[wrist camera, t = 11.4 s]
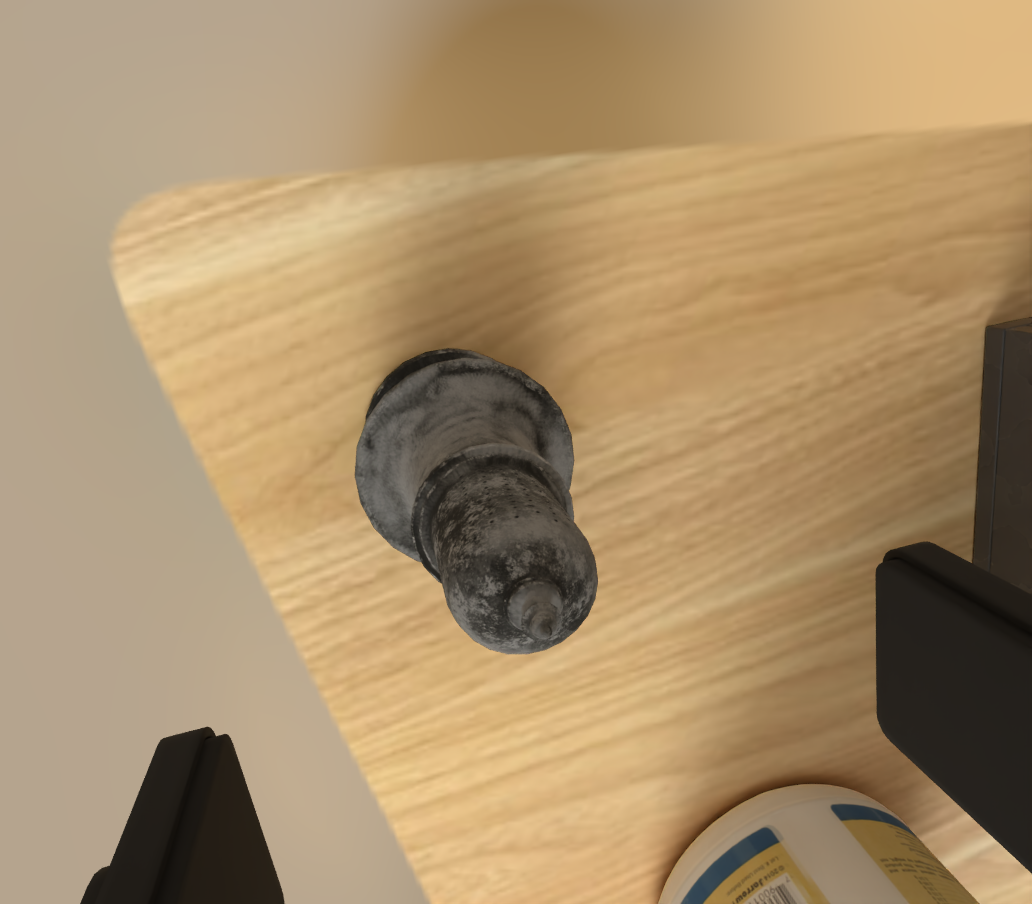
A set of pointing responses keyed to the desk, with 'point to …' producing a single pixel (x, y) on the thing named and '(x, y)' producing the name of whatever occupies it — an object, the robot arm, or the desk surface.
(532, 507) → the chess piece
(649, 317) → the desk surface
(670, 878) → the supplement tub
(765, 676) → the desk surface
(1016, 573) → the chest
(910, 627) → the robot arm
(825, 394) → the desk surface
